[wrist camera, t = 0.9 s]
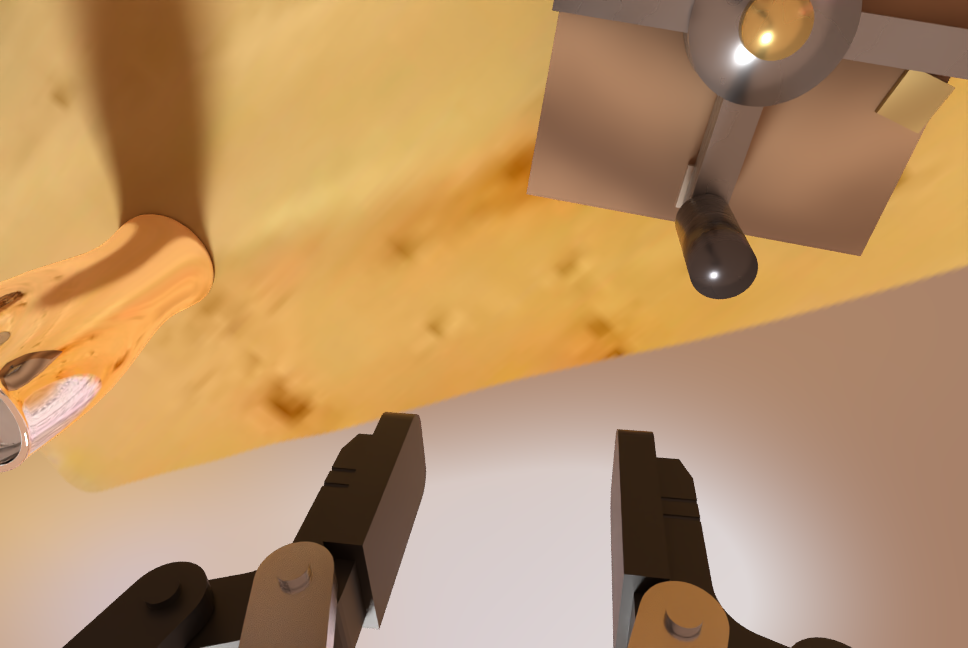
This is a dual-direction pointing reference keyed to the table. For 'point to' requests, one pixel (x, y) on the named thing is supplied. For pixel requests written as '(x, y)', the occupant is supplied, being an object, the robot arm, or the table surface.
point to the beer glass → (88, 325)
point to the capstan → (765, 92)
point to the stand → (773, 149)
